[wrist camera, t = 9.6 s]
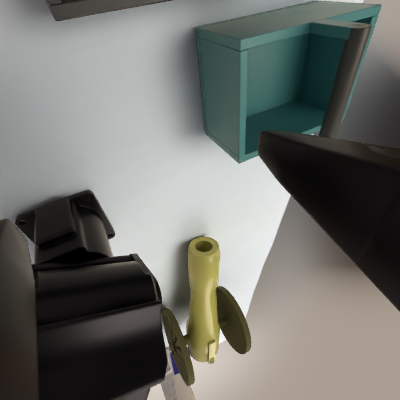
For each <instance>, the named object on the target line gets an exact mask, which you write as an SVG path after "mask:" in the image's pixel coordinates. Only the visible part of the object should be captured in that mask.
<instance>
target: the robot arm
mask: <svg viewBox="0 0 400 400" xmlns="http://www.w3.org/2000/svg"><path fill="white" fill-rule="evenodd" d="M257 151H258V155H259V156H260V158H261V159H262V160H263V162H264V163H265V164H266V166H267V167H268V168H269V170H270V171H271V172H272V174H273V175H274V176H275V178H276V179H277V180H278V181H279V183H280V184H281V185H282V186H283V187H284V188H285V189H286V190H287V191H288V192H289V193H290V195H291V196H292V197H293V198H294V199H295V200H296V201H297V202H298V203H299V204H300V205H301V206H302V207H303V208H304V209H305V210H306V212H307V213H308V214H309V215H310V216H311V217H312V218H313V219H314V220H315V221H316V222H317V223H318V224H319V226H320V227H321V228H322V229H323V230H324V231H325V232H326V233H327V234H328V235H329V236H330V237H331V238H332V239H333V241H334V242H335V243H336V244H337V245H338V246H339V247H340V248H341V249H342V250H343V251H344V252H345V253H346V254H347V256H349V258H350V259H351V260H352V261H353V262H355V264H356V265H357V266H358V267H359V268H360V270H361V271H362V272H363V273H364V274H365V275H366V276H367V277H368V278H369V279H370V280H371V281H372V283H373V284H374V285H375V286H376V287H377V288H378V289H379V290H380V291H381V292H382V293H383V294H384V295H385V296H386V298H388V300H389V301H390V302H391V303H392V304H393V305H394V306H395V307H396V308H397V309H398V310H399V311H400V148H394V147H386V146H380V145H373V144H366V143H364V144H363V143H360V142H353V141H346V140H339V139H334V138H327V137H321V136H314V135H308V134H301V133H295V132H288V131H282V130H275V129H267V130H264V131H261V132H260V133H259V138H258V148H257ZM86 196H90V197H88V198H87V197H86ZM21 220H25V221H24V222H21ZM15 224H16V225H17V226H18V227H19V228H20V229H21V231H22V232H23V233H24V234H25V235H26V236H27V237H28V238H29V239H30V240H31V241H32V242H33V243H34V244H35V264H31V259H30V254H29V249H28V244H27V240H26V238H25V236H24V235H23V234H22V233H21V232H20V230H19V229H18V228H17V227H16V226H15V225H14V224H13V223H12V222H11V221H10V220H9V219H2V220H0V400H147V397H148V394H149V391H150V388H151V387H153V386H155V385H157V384H160V383H162V382H163V381H164V379H165V375H166V370H167V364H168V358H167V353H166V348H165V343H164V338H163V332H162V322H161V313H162V297H161V291H160V287H159V284H158V282H157V280H156V278H155V277H154V276H153V274H152V273H151V272H150V270H149V269H148V268H147V267H146V265H145V264H144V263H143V261H142V260H141V259H140V257H139V256H138V255H137V254H130V255H127V256H117V257H113V255H112V252H111V248H110V245H109V241H108V240H109V239H111V238H113V237H114V236H115V232H114V229H113V228H112V226H111V224H110V222H109V220H108V219H107V217H106V215H105V213H104V211H103V209H102V208H101V206H100V204H99V202H98V200H97V199H96V197H95V195H94V193H93V192H92V191H85V192H82V193H79V194H77V195H74V196H71V197H68V198H64V199H61V200H59V201H56V202H53V203H50V204H48V205H45V206H42V207H39V208H37V209H36V210H33V211H30V212H27V213H25V214H22V215H19V216H17V217H16V219H15ZM110 233H111V234H110Z"/></svg>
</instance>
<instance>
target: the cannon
mask: <svg viewBox="0 0 400 400" xmlns="http://www.w3.org/2000/svg"><path fill="white" fill-rule="evenodd" d="M219 261H220V249H219V245H218V243H217V241H215V240H214V239H212V238H209V237H198V238H195V239H194V240H192V241H191V242H190V244H189V249H188V273H189V285H190V287H191V289H190V304H189V318H188V320H187V323H186V334H187V335H185V336H183V334H182V332H181V329H180V327H179V325H178V322H177V320H176V318H175V316H174V315H173V313H172V311H171V310H170V309H169V308H167V309H165V310H163V311H162V319H163V324H164V329H165V333H166V336H167V340H168V343H169V346H170V349H171V352H172V355H173V358H174V361H175V363H176V366H177V368H178V371H179V373H180V375H181V377H182V379H183V381H184V383H185V384H186V385H187V386H190V385H191V384H193V383H194V381H195V379H194V371H193V366H192V362H191V358H190V356H191V357H192V358H193V359H195V360H197V361H199V362H207V361H208V363H209V364H210V363H211V364H212V363H213V362H214V360H215V355H216V354H217V352H218V347H219V333H220V328H221V330H222V332H223V334H224V336H225V338H226V339H227V341H228V342H229V344H230V345H231V346H232V348H234V349H235V350H236V351H237V352H238V353H240V354H245V353H246V352H248V351H249V350H250V348H251V336H250V332H249V328H248V325H247V322H246V319H245V317H244V315H243V313H242V311H241V309H240V307H239V305H238V303H237V302H236V300H235V299H234V297H233V296H232V295H231V294H230V292H229V291H228V290H226V289H225V288H224V287H221V286H219V287H217V285H218V279H219ZM189 354H190V355H189Z"/></svg>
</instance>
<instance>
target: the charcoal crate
mask: <svg viewBox="0 0 400 400" xmlns="http://www.w3.org/2000/svg"><path fill="white" fill-rule="evenodd" d="M46 1H47V3H48V6H49V8H50V10H51V13H52V15H53V17H54V18H55V20H56V21H61V20H66V19H72V18H77V17H83V16H88V15H94V14H99V13H105V12H110V11H116V10H121V9H127V8H132V7H138V6H143V5H149V4H154V3H160V2H165V1H171V0H46Z"/></svg>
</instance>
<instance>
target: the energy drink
mask: <svg viewBox="0 0 400 400" xmlns="http://www.w3.org/2000/svg"><path fill="white" fill-rule="evenodd" d="M166 353H167V358H168V364H167V370H166V375H165V379H164V381H163V382H162V383H161V386H162V389H163V392H164V396H165V399H166V400H196V399H195V396H194V394H193V391H192V388H191V386H187V385H186V384H185V383H184V381H183V379H182V377H181V375H180V373H179V371H178V368H177V366H176V363H175V361H174V358H173V355H172V352H171V349H170V347H169V348H166Z"/></svg>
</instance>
